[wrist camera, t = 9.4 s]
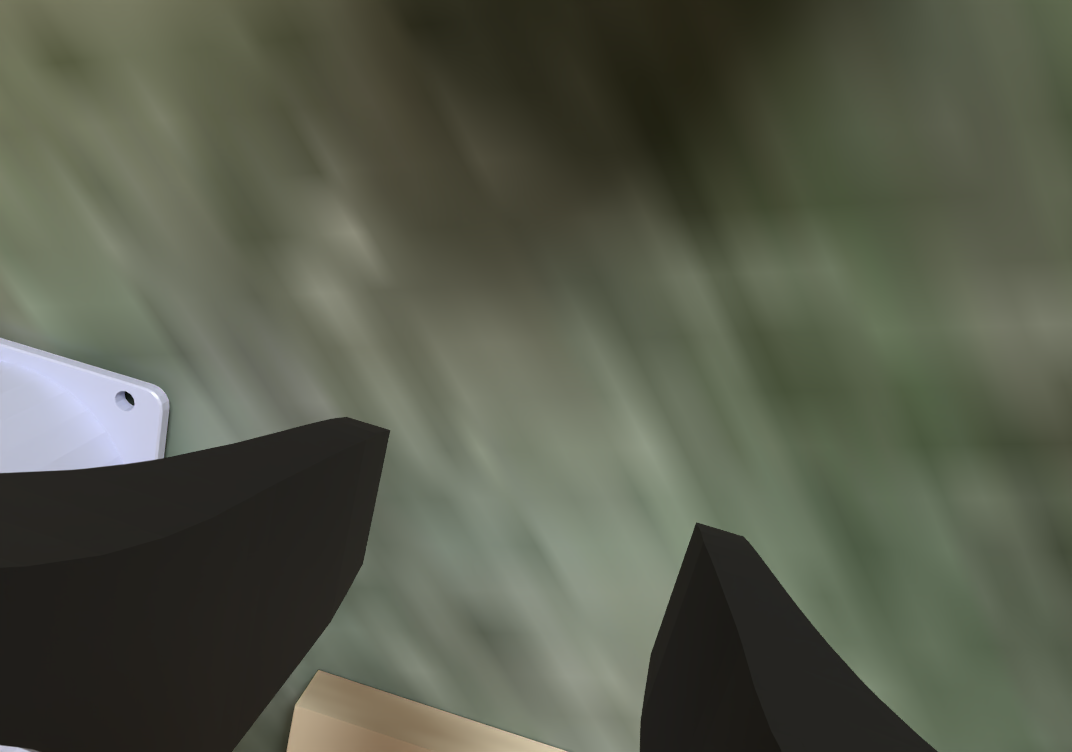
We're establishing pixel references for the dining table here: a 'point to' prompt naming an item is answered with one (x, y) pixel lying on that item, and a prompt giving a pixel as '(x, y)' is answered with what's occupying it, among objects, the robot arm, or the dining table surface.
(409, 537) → the dining table surface
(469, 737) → the peg board
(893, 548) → the dining table surface
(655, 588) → the dining table surface
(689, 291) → the dining table surface
